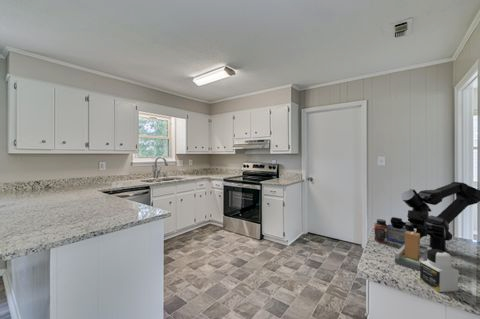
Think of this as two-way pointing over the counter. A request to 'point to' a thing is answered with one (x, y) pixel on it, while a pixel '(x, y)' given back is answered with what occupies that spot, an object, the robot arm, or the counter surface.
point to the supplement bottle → (381, 231)
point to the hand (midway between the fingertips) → (412, 243)
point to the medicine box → (396, 234)
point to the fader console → (408, 261)
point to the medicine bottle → (439, 271)
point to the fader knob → (412, 245)
